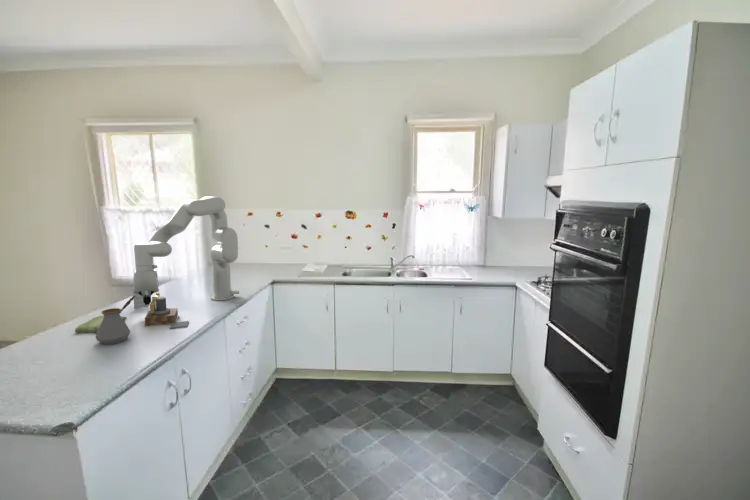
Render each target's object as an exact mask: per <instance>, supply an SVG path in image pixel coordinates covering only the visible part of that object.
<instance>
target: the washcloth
mask: <svg viewBox="0 0 750 500" xmlns="http://www.w3.org/2000/svg"><path fill="white" fill-rule="evenodd" d="M120 316H121V315H120ZM121 317H122V319H123V320H124V321H125V320H127V317H126V316H121ZM103 318H104V315H98V316H96V317H93V318H91V319H88V321H86V322H84V323H81V324H79V325H77V327H75V329H74V332H75V333H77V334H78V333H79V334H80V333H85V334H86V333H97V332H98V330H99V327H100V325H101V322H102V320H103Z"/></svg>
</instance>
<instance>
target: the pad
mask: <svg viewBox="0 0 750 500" xmlns="http://www.w3.org/2000/svg"><path fill="white" fill-rule="evenodd" d="M188 325H189V320H183V321H176V322H172V323H171V324H170V326H169V330H173V329H182V328H187V327H188Z"/></svg>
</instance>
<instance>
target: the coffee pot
mask: <svg viewBox="0 0 750 500" xmlns="http://www.w3.org/2000/svg"><path fill="white" fill-rule="evenodd" d="M134 297H136V296H133V295H132V296H131V297H130V298H129V300H127V301H126V303H125V304H124V305H123V307H122V308H119V307H118V308H117V307H116V308H115V307H114V308H109V309H104V310H101V314H102V316H104V318H103V320H102V322H101V325H100V327H99V330H98V332H96V334H95V339H96V340H97V341H98V342H99V343H102V344H103V345H115V344H118V343H122V342H124V341H125V340H126V339H127V338H128V337H129V336H130V334H131V329H130V328H129V326H128V325H127V323H126V322H125V320H123V319H122V317H121V315H120V314H121V313H122V312H123V311H124V310H125V309H126V308H127V307H128V306H129V305H130V304H131V302H132V301H134V300H133V299H134ZM137 299H138V297H137Z"/></svg>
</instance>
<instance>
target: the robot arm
mask: <svg viewBox="0 0 750 500" xmlns="http://www.w3.org/2000/svg"><path fill="white" fill-rule="evenodd" d="M225 208H226V201H225V200H224V198H222V197H221V196H210V195H209V196H203V197H202V198H200V199H186V200H183V202H182V203H181V204H180V205H179V207H178V208H177V210H176V211H175V212H174V214H173V215H172V216H171V218H170V219H169V220H168V222H166V223H165V224H163V225H162V226H161V227H160V228H159V229H157V231H156V232H155V233H154V234H153V235H152V237H151V238H150V240H149V241H148V242H138V243H136V244H134V245H133V251H134V264H135V271H134V272H133V285H132V286H133V288H134V294H140V295H141V296H142V297H143V302H144V303H145V305H147V304H148V305H149V306H150V304H151V302H152V295H154V294H155V293H158V292H159V293H160V289H159V283H160V282H159V277H158V273H157V270H156V269H157V268H158V265H157V264H154V258H163V257H168V256H169V255H171V254H172V252H173V248H172V247H173V246H171V244H169V243H168V241H169V240H170V239H172V238H173V237H175V236H176V235H179V234H181V233H183V232H184V231H186V229H187V227H188V226H189V225H190V223H192V222H191V221H192V220H193V219H194V218H195V217H203V216H208V215H209V217H210V221H211V223H210V224H211V237H212V238H211V239H212V240H213V241H214V242H215V243H218V244H216V245H214V246H213V247H212V248H211V250H210V253H209V257H210V260H211V266H212V282H213V283H212V286H213V287H212V288H213V291H212V292H213V293H212V295H211V296H210V299H211V300H212V301H218V302H219V301H228V300H231V299H233V298H234V297H235V295H239V294H240V290H237V289H236V290H233V289H232V287H231V286H232V285H231V284H232V282H231V266H230V264H233V263H235V262H236V261H237V259H238V255H239V242H238V239H239V238H238V233H237V232H236V229H233V228H232V227H229V225H228V218H227V217H228V216H227V213H226V211H225ZM145 291H148V295H146V293H145Z"/></svg>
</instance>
